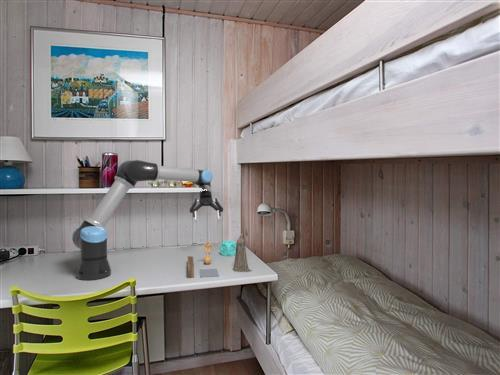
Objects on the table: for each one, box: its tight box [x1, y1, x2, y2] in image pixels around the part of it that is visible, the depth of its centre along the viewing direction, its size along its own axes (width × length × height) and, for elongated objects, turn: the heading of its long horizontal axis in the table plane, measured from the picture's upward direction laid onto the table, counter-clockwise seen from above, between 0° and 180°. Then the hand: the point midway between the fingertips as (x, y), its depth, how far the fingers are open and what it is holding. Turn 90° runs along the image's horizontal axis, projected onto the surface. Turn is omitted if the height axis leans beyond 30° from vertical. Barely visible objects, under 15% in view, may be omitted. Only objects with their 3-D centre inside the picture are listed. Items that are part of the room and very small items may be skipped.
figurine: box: [200, 241, 216, 265], centre depth 183 cm, size 8×6×12 cm
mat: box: [199, 268, 220, 278], centre depth 166 cm, size 9×12×1 cm
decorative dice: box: [219, 240, 237, 257], centre depth 203 cm, size 8×8×8 cm
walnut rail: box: [187, 255, 195, 279], centre depth 172 cm, size 3×28×4 cm, turn 11°
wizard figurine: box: [232, 222, 252, 273], centre depth 171 cm, size 10×8×25 cm
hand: (207, 220), depth 195 cm, fingers open, 13 cm apart
